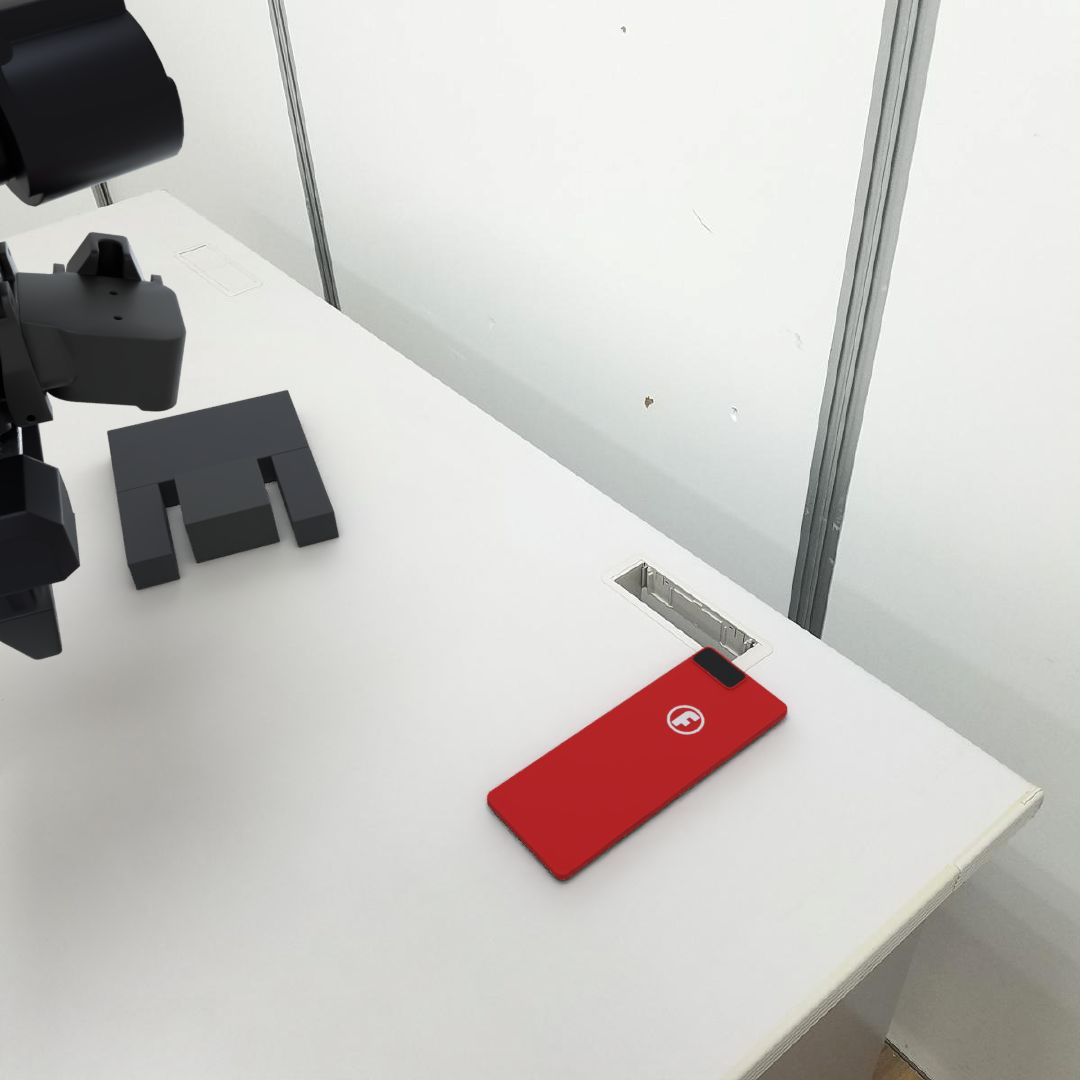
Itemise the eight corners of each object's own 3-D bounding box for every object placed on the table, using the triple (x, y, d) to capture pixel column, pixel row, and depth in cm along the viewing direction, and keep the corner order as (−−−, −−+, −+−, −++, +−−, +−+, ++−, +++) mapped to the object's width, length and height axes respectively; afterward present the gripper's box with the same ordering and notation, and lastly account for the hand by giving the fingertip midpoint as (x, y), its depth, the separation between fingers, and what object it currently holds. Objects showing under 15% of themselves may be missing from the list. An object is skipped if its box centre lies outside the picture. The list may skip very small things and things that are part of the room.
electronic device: (561, 885, 51) (790, 714, 57) (561, 878, 50) (791, 707, 57) (483, 801, 54) (707, 649, 61) (482, 794, 54) (708, 642, 61)
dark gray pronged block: (136, 590, 66) (127, 564, 65) (115, 454, 76) (106, 430, 75) (339, 537, 69) (334, 511, 68) (293, 413, 79) (287, 389, 78)
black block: (196, 563, 68) (184, 525, 66) (185, 513, 71) (173, 475, 69) (280, 541, 69) (270, 503, 67) (264, 493, 72) (255, 455, 70)
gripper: (170, 332, 34) (269, 679, 45) (115, 114, 47) (201, 421, 58) (-240, 418, 31) (-32, 766, 42) (-177, 162, 45) (-32, 475, 55)
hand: (44, 581), depth 49 cm, fingers open, 9 cm apart
